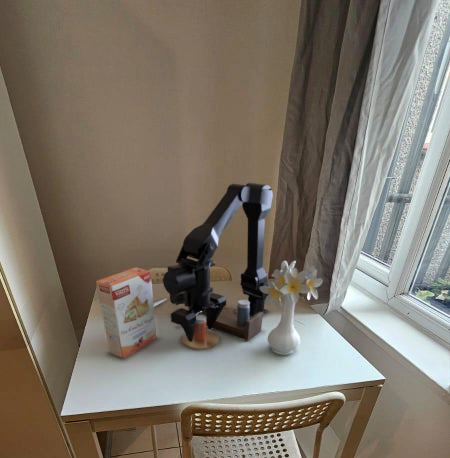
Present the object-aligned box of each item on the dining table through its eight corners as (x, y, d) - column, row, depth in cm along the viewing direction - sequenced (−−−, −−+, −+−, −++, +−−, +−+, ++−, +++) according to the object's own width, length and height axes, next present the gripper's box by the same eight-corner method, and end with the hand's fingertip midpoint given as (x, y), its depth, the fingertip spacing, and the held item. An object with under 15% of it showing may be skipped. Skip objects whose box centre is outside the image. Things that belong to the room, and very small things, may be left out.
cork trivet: (197, 328, 108) (197, 326, 107) (225, 338, 103) (225, 337, 102) (174, 341, 100) (174, 340, 100) (203, 353, 96) (203, 352, 95)
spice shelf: (203, 311, 118) (203, 294, 114) (261, 331, 107) (263, 312, 103) (188, 319, 112) (188, 301, 109) (247, 341, 102) (249, 321, 98)
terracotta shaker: (199, 334, 103) (199, 313, 99) (209, 338, 102) (209, 316, 98) (191, 339, 101) (190, 317, 97) (201, 343, 99) (201, 321, 95)
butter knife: (110, 324, 107) (117, 326, 105) (163, 297, 126) (169, 299, 124) (110, 326, 107) (117, 328, 106) (163, 299, 126) (169, 300, 125)
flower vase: (247, 358, 94) (255, 269, 79) (276, 332, 107) (287, 251, 92) (290, 373, 89) (306, 281, 74) (314, 344, 102) (333, 260, 86)
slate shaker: (240, 319, 107) (242, 298, 103) (250, 322, 105) (252, 301, 101) (234, 323, 105) (235, 302, 100) (244, 327, 103) (245, 305, 99)
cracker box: (124, 360, 92) (111, 285, 79) (108, 353, 94) (93, 280, 82) (158, 339, 101) (151, 270, 89) (143, 333, 104) (134, 265, 91)
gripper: (197, 269, 101) (198, 317, 110) (153, 287, 89) (158, 339, 98) (228, 277, 96) (226, 326, 105) (185, 297, 84) (188, 351, 93)
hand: (200, 335), depth 101 cm, fingers open, 9 cm apart
